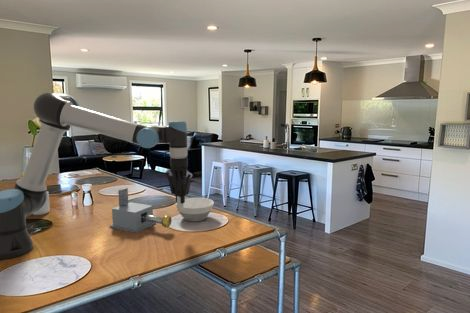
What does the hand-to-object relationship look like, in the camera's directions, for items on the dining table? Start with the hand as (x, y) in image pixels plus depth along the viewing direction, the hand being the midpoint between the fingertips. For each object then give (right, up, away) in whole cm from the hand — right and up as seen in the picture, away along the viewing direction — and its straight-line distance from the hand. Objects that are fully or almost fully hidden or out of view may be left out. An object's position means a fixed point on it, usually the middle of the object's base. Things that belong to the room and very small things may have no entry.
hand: (180, 210), depth 147 cm
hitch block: (-25, -9, +13) cm, 30 cm away
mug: (-80, -7, +33) cm, 87 cm away
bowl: (+4, -8, +24) cm, 26 cm away
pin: (-14, -8, +8) cm, 18 cm away
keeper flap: (-29, +4, +13) cm, 32 cm away
